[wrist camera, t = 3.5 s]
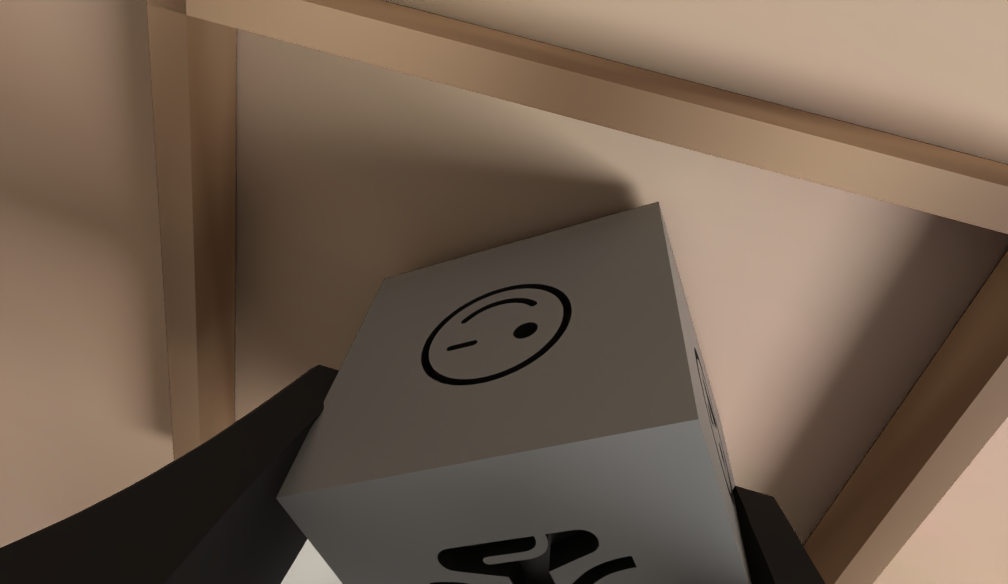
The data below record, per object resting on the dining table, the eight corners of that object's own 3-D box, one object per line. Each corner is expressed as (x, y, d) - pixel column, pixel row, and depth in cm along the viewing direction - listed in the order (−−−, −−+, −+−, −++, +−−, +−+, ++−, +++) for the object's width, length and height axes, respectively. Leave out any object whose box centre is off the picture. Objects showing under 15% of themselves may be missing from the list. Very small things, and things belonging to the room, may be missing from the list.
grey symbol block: (658, 202, 11) (698, 419, 7) (721, 423, 13) (779, 687, 9) (384, 278, 12) (276, 497, 8) (485, 466, 15) (441, 711, 10)
